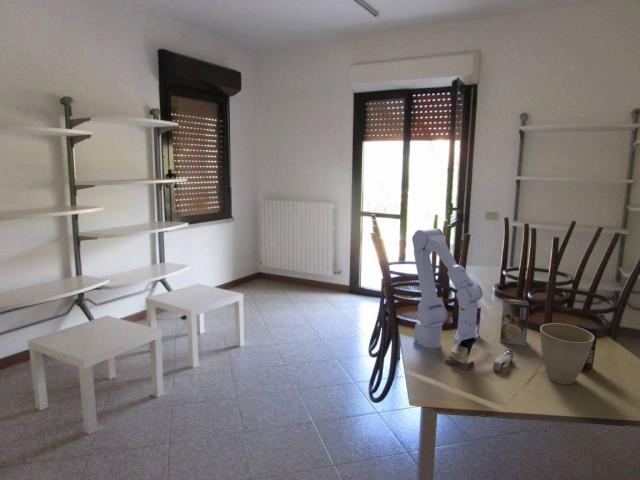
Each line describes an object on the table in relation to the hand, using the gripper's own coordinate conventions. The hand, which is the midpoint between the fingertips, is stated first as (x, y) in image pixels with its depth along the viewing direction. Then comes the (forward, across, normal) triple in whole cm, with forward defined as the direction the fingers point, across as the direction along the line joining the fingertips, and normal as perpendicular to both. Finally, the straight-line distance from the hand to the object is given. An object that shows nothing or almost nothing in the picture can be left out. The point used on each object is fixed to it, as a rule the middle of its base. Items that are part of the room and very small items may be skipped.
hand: (464, 357), depth 149 cm
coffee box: (+3, +31, -5) cm, 32 cm away
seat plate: (+2, +3, -4) cm, 6 cm away
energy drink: (+3, +26, +9) cm, 28 cm away
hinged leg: (+1, +6, -11) cm, 13 cm away
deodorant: (+3, +26, -30) cm, 40 cm away
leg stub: (+1, -2, 0) cm, 3 cm away
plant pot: (+3, +12, -27) cm, 30 cm away
